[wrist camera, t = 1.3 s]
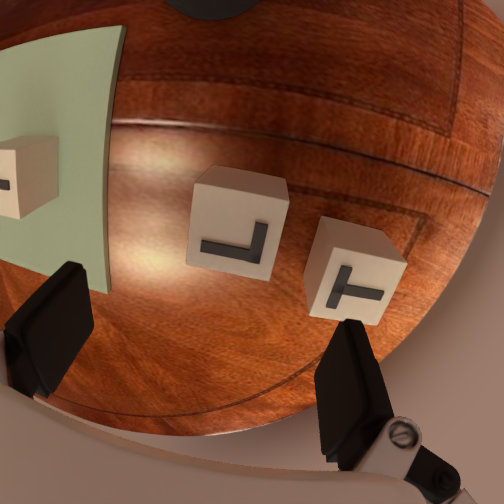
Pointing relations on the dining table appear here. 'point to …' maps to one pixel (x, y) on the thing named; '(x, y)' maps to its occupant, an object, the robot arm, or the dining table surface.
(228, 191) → the tile
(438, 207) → the dining table surface
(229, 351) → the dining table surface
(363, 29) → the dining table surface
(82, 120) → the board
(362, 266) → the tile
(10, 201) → the tile
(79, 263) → the robot arm
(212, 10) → the travel mug
